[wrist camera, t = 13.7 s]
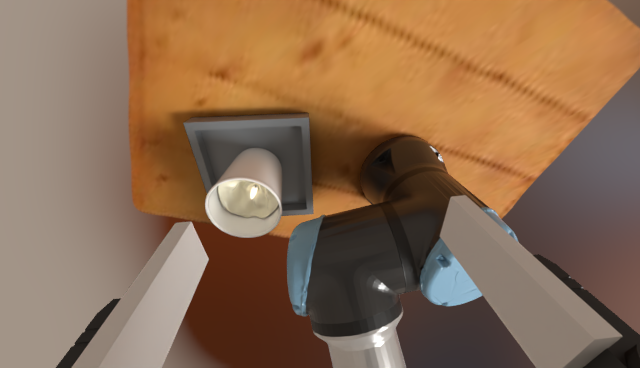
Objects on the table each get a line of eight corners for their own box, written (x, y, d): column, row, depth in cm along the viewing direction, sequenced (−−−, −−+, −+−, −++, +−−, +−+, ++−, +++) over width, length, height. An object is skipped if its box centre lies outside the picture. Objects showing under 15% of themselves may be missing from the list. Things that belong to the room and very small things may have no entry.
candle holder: (288, 191, 43) (284, 236, 33) (235, 193, 42) (214, 239, 32) (284, 142, 38) (278, 176, 28) (224, 143, 37) (195, 179, 27)
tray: (308, 112, 37) (308, 117, 34) (312, 204, 46) (313, 213, 44) (191, 117, 36) (183, 122, 33) (220, 210, 45) (215, 220, 43)
